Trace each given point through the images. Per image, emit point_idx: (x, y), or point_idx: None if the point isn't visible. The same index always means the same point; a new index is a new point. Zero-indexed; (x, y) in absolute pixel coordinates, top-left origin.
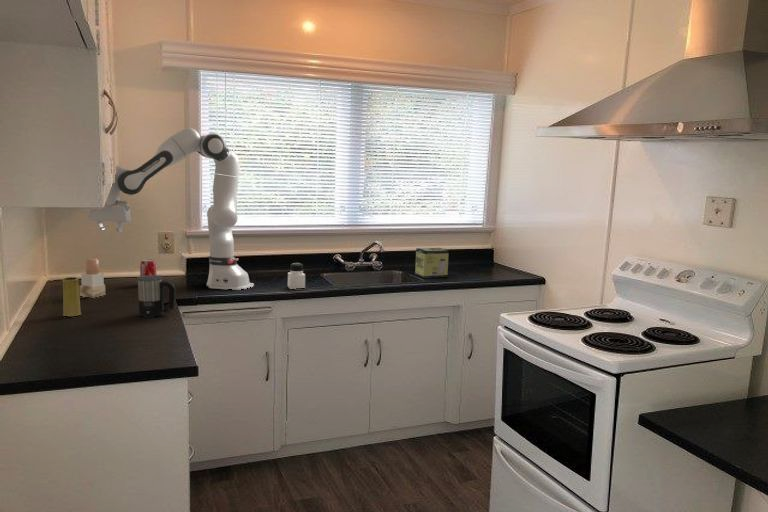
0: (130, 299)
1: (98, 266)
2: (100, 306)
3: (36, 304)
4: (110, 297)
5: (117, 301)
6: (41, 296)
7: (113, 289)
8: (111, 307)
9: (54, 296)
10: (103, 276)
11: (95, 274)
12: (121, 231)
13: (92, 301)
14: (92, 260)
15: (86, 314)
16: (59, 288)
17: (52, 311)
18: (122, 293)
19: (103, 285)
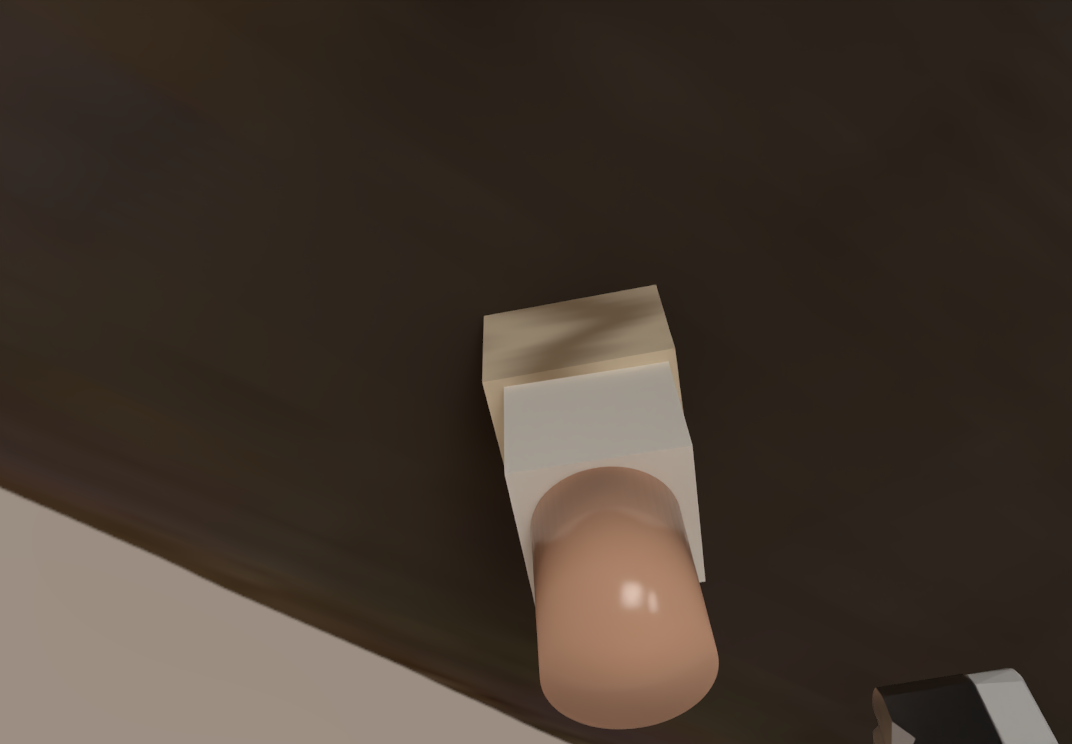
0: (1015, 237)
1: (689, 559)
2: (958, 523)
3: (512, 717)
4: (771, 305)
5: (958, 357)
6: (272, 607)
7: (449, 43)
8: (1064, 495)
9: (344, 556)
10: (684, 418)
11: (690, 538)
12: (1018, 697)
13: (763, 476)
14: (694, 697)
15: (1039, 671)
16: (4, 383)
17: (777, 737)
18: (724, 113)
19: (675, 365)
